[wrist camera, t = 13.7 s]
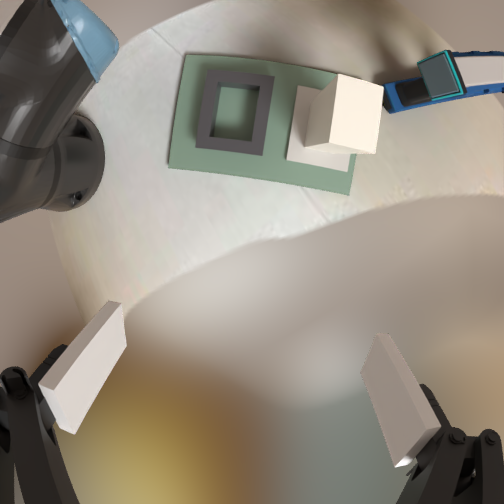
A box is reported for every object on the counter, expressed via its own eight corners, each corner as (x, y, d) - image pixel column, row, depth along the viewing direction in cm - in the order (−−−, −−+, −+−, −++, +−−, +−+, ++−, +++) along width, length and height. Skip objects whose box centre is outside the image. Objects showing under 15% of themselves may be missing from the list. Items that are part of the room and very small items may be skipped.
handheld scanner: (361, 87, 33) (439, 48, 14) (445, 72, 30) (532, 50, 12) (373, 118, 34) (459, 102, 15) (455, 99, 32) (546, 90, 13)
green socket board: (170, 167, 37) (160, 169, 33) (188, 57, 32) (180, 47, 28) (346, 194, 37) (355, 198, 34) (363, 83, 32) (373, 77, 29)
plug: (304, 147, 34) (328, 142, 21) (310, 102, 32) (338, 73, 19) (334, 153, 34) (375, 153, 21) (341, 109, 32) (383, 86, 19)
